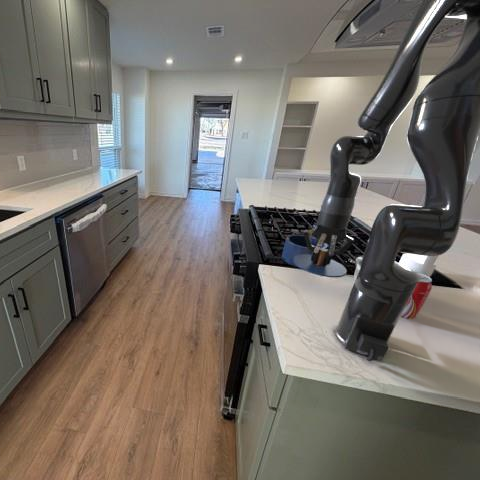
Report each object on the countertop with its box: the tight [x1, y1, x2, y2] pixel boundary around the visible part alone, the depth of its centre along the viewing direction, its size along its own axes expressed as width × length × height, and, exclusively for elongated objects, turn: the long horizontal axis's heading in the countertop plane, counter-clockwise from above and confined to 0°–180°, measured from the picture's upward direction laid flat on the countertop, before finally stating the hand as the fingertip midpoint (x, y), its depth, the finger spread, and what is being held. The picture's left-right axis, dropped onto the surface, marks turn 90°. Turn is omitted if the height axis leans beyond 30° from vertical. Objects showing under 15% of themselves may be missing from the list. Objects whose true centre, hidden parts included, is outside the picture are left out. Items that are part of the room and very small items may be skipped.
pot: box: [281, 234, 328, 268], centre depth 96 cm, size 14×14×8 cm
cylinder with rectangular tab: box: [398, 253, 440, 278], centre depth 89 cm, size 9×9×12 cm
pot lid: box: [293, 248, 348, 278], centre depth 79 cm, size 15×15×6 cm
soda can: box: [400, 271, 433, 320], centre depth 68 cm, size 7×7×12 cm
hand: (319, 263), depth 80 cm, fingers closed on pot lid, 2 cm apart
